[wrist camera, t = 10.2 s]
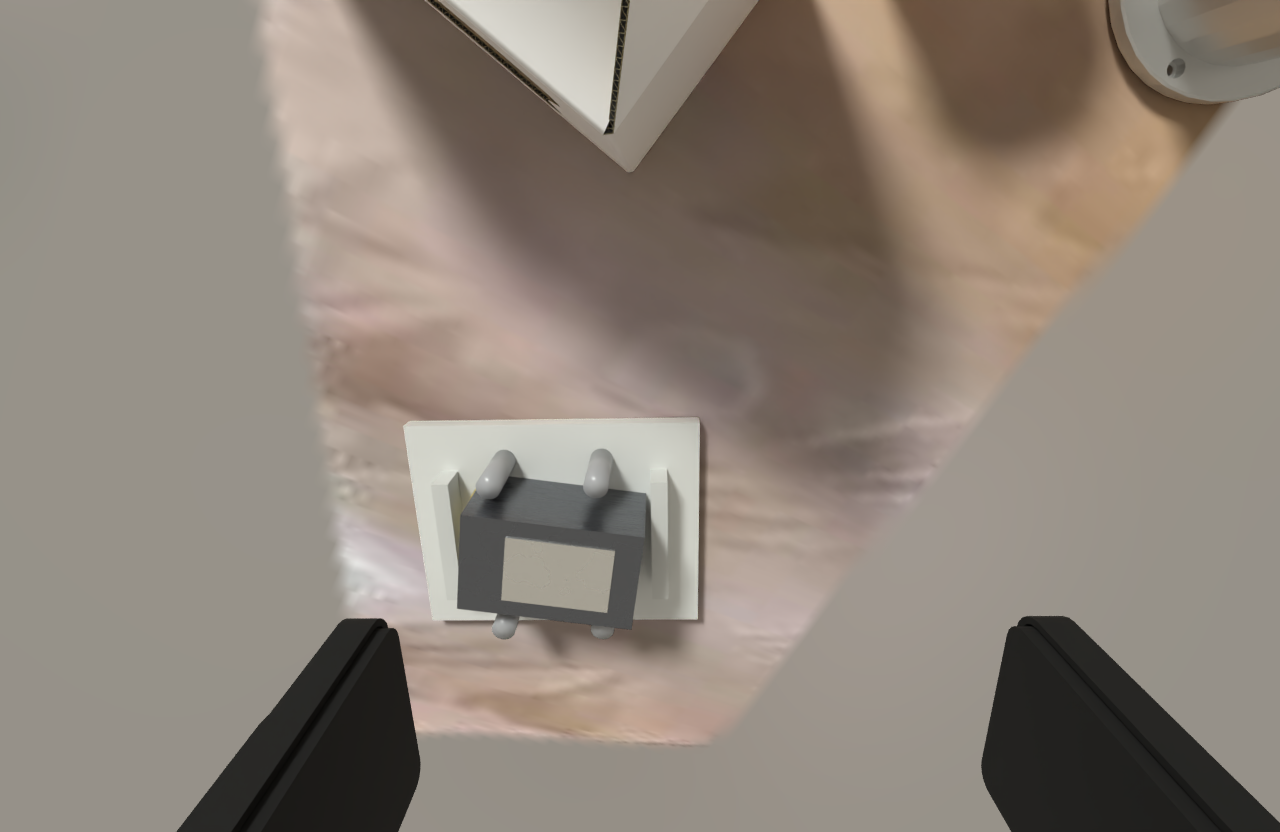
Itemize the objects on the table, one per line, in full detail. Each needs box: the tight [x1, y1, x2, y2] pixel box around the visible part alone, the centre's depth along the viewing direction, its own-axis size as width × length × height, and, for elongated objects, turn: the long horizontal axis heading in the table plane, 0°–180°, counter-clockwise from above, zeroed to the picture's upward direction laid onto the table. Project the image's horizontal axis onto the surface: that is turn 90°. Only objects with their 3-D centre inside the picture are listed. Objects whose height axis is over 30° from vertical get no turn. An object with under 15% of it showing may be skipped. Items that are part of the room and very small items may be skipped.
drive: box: [457, 476, 646, 630], centre depth 37 cm, size 10×6×6 cm, turn 83°
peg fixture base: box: [403, 417, 700, 639], centre depth 38 cm, size 18×14×5 cm
